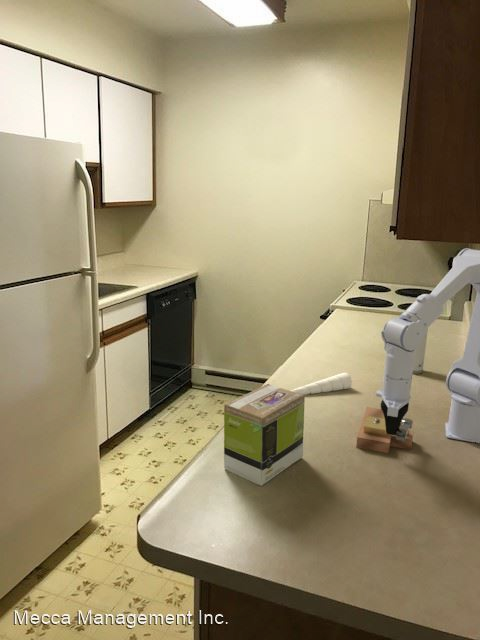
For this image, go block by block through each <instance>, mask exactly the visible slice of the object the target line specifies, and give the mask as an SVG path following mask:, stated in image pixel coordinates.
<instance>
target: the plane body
mask: <svg viewBox="0 0 480 640" xmlns="http://www.w3.org/2000/svg"><path fill="white" fill-rule="evenodd" d="M367 416H371V417H377V418H383V419H385V417H384V414H383V411H382V409H381V408H378V407H377V408H376V407H371V406H366V408H365V412H364V415H363V418H362V420H361V425H360V426H359V431H358V434H357V436H356V437H357V438H356V447H355V448H358V449H365V450H368V451H375V452H380V453H384V454H389V453H390V447H394V448H398V449H399V448H400V449H406V450H410V451H411V450H412V445H413V437H414V436H413V435H414V431H413V430H409V432H408V434H407V436H406V439H405V441H401V440H397V439H396V435H391V434H386V436H381V435H376V434H370V433H365V432H364V425H365V422H366V418H367Z"/></svg>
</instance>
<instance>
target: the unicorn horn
mask: <svg viewBox="0 0 480 640" xmlns="http://www.w3.org/2000/svg"><path fill="white" fill-rule="evenodd" d="M352 385H353V380H352V377H351V375H350V374H349V373H347V372H342V373H339V374H335V375H333V376H329V377H326V378H324V379H320V380H318V381H314V382H311V383H308V384H306V385H302V386H298V387H296V388H294V389H291V390H290V391H293V392H296V393H300V394H303V395H306V396H307V395H310V394H311V395H314V394H320V393H329V392H332V391H333V392H334V391H341V390H348V389H351V388H352Z"/></svg>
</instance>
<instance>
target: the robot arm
mask: <svg viewBox="0 0 480 640" xmlns="http://www.w3.org/2000/svg"><path fill="white" fill-rule="evenodd" d="M452 260H453V261H452V268H451V269H450V270H449V271H448V272H447V273H446V274H445V276H444V277H443V278H442V279H441V280H440V281H439V282H438V284H437V285H436V287H435V288H434V289H433V290H432V291H431V293H422V294H421V295H419V296H417V297H416V298H415V301H414V302H413V303H411V305H410V306H408V307H407V308H406V309H405V310H404V311H403V312H402V313H401V314H400V316H398V317H393V318H391V319H389V320H387V322H386V323H385V324H384V326H383V329H382V330H381V331H380V332H381V333H380V334H381V338H382V341H383V342H384V343H383V344H384V346H383V347H384V350H385V358H384V360H385V361H384V366H383V378H382V390H379V389H378V390H376V391H375V392H376V393H375V396H376V397H378V398H380V399H381V402H380V409H382V411H383V414H384V417H385V426H386V433H387V434H391V435H396V431H397V429H399V428H400V425H401V421H402V419H403V418H404V417H405V415H406V414H407V413H408V411H409V404H410V402H411V398H412V397H411V390H412V381H413V365H414V356H415V349H416V348H418V347H419V346H420V345H421V344H422V341H423V338H424V335H425V334H426V332H427V328H428V329H429V328H430V327H431V325H433V323H434V322H436V320H437V319H439V317H440V316H441V315H442V314H443V313H444V304H446V303H447V302H448V301H449V300H451V298H452V297H453V296H455V295H456V294H457V293H459V292H460V291H461V290H462V289H463V288H464V287H465V286H466V285H468V284H470V285H472V287H473V288H474V290H475V291H476V296H475V301H474V304H473V309H472V314H471V319H470V324H469V326H468V327H469V328H468V331H467V336H466V341H465V346H464V351H463V354H462V357H461V358H459V359H457V360H455V361H453V362H452V363H451V367H450V370H449V372H448V374H447V376H446V378H445V387H446V389H447V390H448V391H449V397H451V403H450V409H449V416H448V422H445V424H444V426H445V437H446V438H448V439H453V440H458V441H463V442H464V441H465V442H470V443H471V442H472V443H475V442H476V443H475V444H480V250H478V249H472V248H469V247H466V248H463V249H461V250H459V253H457V255H456V256H455V257H453V259H452ZM427 333H428V332H427Z"/></svg>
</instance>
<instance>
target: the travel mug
mask: <svg viewBox="0 0 480 640" xmlns="http://www.w3.org/2000/svg"><path fill="white" fill-rule="evenodd" d="M428 330H429V327H428V328H427V332H426V334H425V335H424V338H423V341H422V344H421V345H420V346H419V347H418V348H416V349H415V356H414V365H413V374H414V375H420V374H421V373H423V372H424V365H425V363H424V362H425V356H426V349H427V348H426V346H427V339H428V338H427V337H428ZM413 374H412V375H413Z"/></svg>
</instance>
